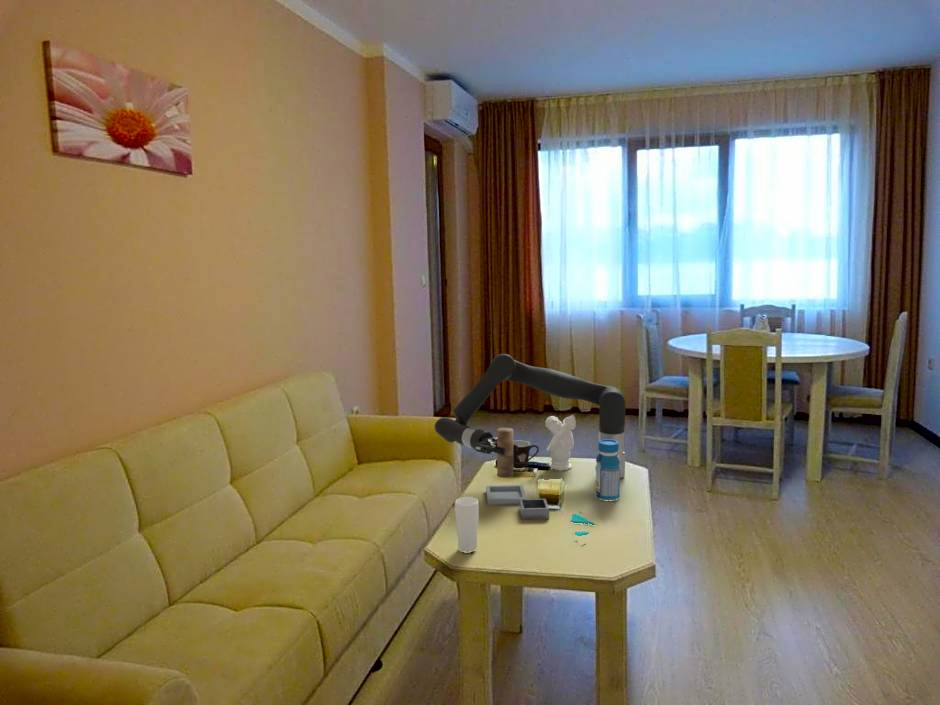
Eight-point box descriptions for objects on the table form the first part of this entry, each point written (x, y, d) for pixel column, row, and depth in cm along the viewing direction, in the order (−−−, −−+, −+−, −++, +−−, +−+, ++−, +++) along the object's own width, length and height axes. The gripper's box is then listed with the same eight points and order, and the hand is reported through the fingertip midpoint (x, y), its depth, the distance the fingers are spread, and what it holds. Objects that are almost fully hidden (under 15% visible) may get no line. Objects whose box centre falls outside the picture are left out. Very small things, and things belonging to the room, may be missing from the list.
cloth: (599, 552, 201) (599, 544, 201) (552, 545, 206) (552, 538, 205) (612, 517, 225) (612, 510, 225) (569, 512, 230) (570, 505, 230)
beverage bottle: (609, 504, 235) (610, 447, 231) (589, 497, 241) (590, 441, 238) (625, 498, 240) (626, 442, 236) (605, 491, 246) (606, 436, 243)
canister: (512, 472, 242) (512, 427, 239) (513, 477, 237) (514, 432, 234) (496, 472, 242) (496, 427, 239) (497, 477, 236) (497, 432, 234)
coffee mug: (506, 471, 268) (506, 446, 267) (509, 464, 277) (509, 439, 275) (537, 472, 266) (537, 447, 265) (538, 465, 275) (538, 441, 273)
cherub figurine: (542, 468, 272) (541, 413, 269) (557, 459, 282) (557, 406, 279) (570, 473, 265) (570, 417, 262) (585, 464, 275) (585, 410, 272)
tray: (522, 491, 247) (522, 484, 247) (526, 505, 234) (526, 498, 234) (486, 492, 247) (486, 485, 247) (487, 506, 234) (487, 499, 234)
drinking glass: (459, 557, 198) (458, 506, 195) (453, 547, 204) (452, 498, 202) (482, 553, 200) (481, 503, 197) (475, 543, 206) (474, 495, 204)
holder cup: (545, 510, 230) (545, 498, 230) (549, 520, 222) (549, 508, 221) (519, 510, 230) (519, 499, 230) (522, 521, 222) (522, 509, 221)
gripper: (461, 433, 243) (495, 443, 230) (492, 425, 252) (525, 435, 240) (462, 453, 244) (495, 465, 232) (492, 445, 254) (525, 456, 241)
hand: (510, 450), depth 236 cm, fingers closed on canister, 5 cm apart
